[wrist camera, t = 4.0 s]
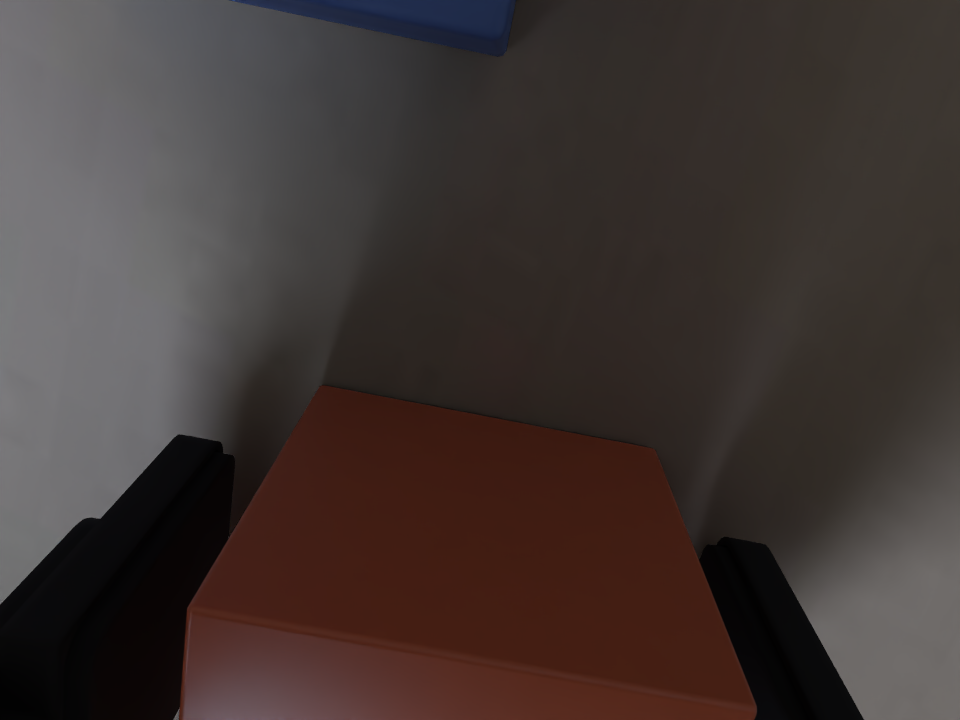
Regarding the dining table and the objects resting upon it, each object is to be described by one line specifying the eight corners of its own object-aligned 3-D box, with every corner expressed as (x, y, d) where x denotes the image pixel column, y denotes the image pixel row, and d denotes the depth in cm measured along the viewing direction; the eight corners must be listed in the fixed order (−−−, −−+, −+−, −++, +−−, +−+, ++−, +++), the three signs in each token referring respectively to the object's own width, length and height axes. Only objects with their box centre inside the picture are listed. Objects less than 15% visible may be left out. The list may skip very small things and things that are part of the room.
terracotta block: (656, 447, 10) (762, 710, 6) (576, 706, 12) (615, 1061, 8) (319, 382, 10) (185, 606, 6) (284, 654, 12) (156, 986, 8)
